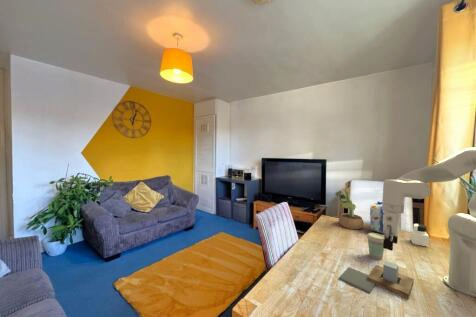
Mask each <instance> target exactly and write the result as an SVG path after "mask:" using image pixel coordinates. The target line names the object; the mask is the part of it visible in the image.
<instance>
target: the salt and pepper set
mask: <svg viewBox="0 0 476 317" xmlns="http://www.w3.org/2000/svg"><path fill="white" fill-rule="evenodd" d="M429 237H430V236H429V234H428V233H427V226H426V225H424V224H421V223H413V229H411V230H410V241H411V243H412V244H413V245H416V246H420V245H421V246H422V247H425V246H426V248H428V247H429V240H430V239H429Z"/></svg>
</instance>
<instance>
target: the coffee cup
mask: <svg viewBox="0 0 476 317" xmlns="http://www.w3.org/2000/svg"><path fill="white" fill-rule="evenodd" d="M366 237H367V238H366V239H367V242H368V243H367V244H368V252H369V253H368V255H369V257H370V258H372V259H374V260H376V261H377V260H378V261H381V260H383V256H384V251H385V248H383V241H384V234H381V233H378V232H376V233H375V232H368V234H367V236H366Z"/></svg>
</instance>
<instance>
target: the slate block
mask: <svg viewBox="0 0 476 317" xmlns="http://www.w3.org/2000/svg"><path fill="white" fill-rule="evenodd" d="M382 267H383V277H382V279H385V280H387V281H390V282H392V283H395V284H397V285H398V284H399V282H398V273H399V265H398V264H396V263H393V262H390V261H387V260H385V261H384V263H383V266H382Z"/></svg>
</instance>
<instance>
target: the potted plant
mask: <svg viewBox="0 0 476 317" xmlns="http://www.w3.org/2000/svg"><path fill="white" fill-rule="evenodd" d="M345 192H346V193H345ZM334 195H335V196H336V197H339V196H341V195H343V197H344V198H341V199H340V201H341V202H342V201H343V203H342V204H341V207H343V208H344V209H348V210H349V211H348V213H346V212H345V213H341V214H340V216H339V218H338V222H339V225H341V226H342V227H344V228H346V229H350V230H361V229H362V228H364V225H365V221H364V220H363V217H362V216H360V215H358V214H354V211H355V209H356V204H354V203H353V202H352V200H351V198H350V194H349V189H348V188H346V191H344V190H342V189H339V191H337V192H336V193H335V194H334Z"/></svg>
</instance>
